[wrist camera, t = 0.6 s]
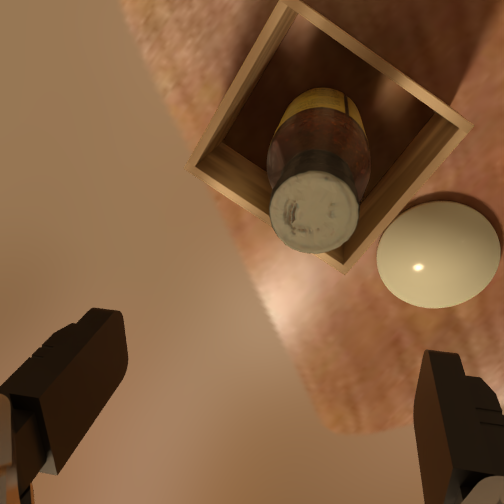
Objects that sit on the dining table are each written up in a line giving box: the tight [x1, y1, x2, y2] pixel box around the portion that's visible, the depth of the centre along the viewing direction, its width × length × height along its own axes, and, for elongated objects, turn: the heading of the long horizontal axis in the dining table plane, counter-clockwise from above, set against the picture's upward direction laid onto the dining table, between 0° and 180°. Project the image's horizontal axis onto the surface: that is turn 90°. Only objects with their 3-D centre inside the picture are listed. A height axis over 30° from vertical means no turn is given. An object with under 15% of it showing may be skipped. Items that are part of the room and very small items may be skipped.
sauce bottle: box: [267, 88, 371, 254], centre depth 30 cm, size 7×6×20 cm
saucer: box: [376, 201, 501, 308], centre depth 41 cm, size 10×10×1 cm
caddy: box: [184, 0, 474, 275], centre depth 35 cm, size 14×13×8 cm
